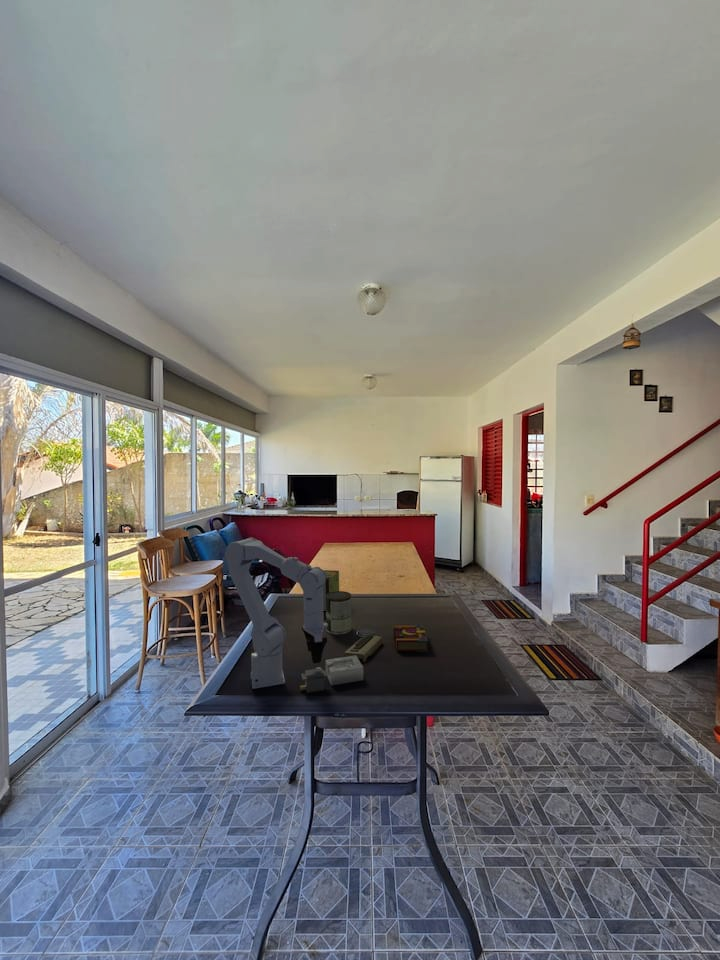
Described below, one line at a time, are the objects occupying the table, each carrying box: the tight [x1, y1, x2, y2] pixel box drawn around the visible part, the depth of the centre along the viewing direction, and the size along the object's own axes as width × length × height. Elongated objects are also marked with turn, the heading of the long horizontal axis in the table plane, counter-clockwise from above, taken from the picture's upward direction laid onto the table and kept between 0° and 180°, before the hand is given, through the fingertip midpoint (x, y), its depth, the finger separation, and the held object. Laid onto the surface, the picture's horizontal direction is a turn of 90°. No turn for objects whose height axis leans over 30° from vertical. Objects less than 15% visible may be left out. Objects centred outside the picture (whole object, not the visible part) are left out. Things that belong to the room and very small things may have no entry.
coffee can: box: [325, 590, 352, 635], centre depth 158 cm, size 10×10×14 cm
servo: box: [299, 667, 328, 694], centre depth 115 cm, size 8×3×6 cm, turn 107°
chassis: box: [325, 655, 364, 686], centre depth 122 cm, size 10×8×4 cm
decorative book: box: [393, 623, 429, 653], centre depth 145 cm, size 11×16×5 cm
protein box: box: [322, 569, 340, 611], centre depth 186 cm, size 10×15×16 cm
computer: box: [343, 635, 384, 663], centre depth 139 cm, size 16×8×3 cm, turn 154°
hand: (314, 656), depth 115 cm, fingers open, 7 cm apart
